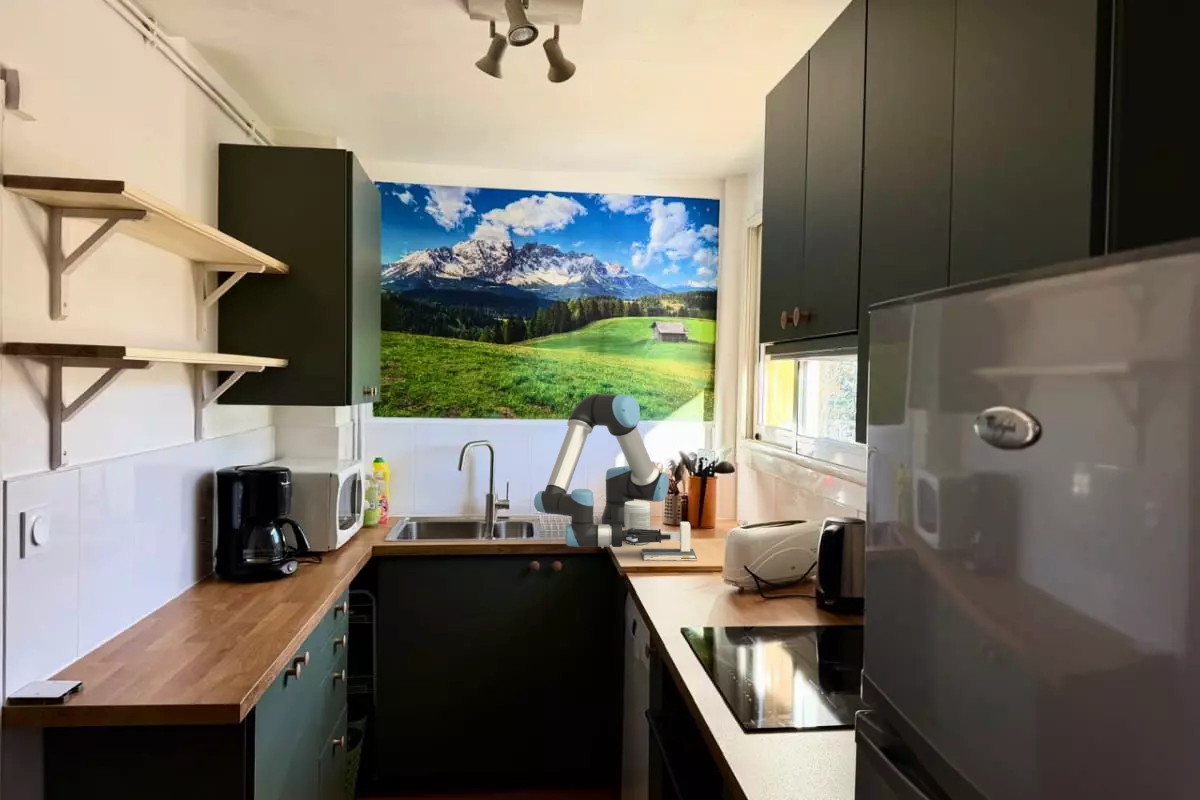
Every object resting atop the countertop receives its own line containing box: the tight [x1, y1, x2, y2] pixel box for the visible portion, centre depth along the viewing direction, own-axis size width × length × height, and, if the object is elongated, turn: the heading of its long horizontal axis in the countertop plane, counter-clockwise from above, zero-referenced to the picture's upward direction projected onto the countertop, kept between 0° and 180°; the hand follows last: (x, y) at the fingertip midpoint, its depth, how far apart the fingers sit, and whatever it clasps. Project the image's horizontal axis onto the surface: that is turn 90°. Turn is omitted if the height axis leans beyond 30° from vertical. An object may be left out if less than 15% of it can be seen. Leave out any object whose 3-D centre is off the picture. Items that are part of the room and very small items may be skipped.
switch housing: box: [641, 547, 698, 560], centre depth 249 cm, size 12×18×2 cm, turn 89°
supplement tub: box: [624, 500, 651, 546], centre depth 268 cm, size 10×10×15 cm
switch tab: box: [679, 521, 691, 552], centre depth 249 cm, size 5×3×10 cm, turn 179°
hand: (680, 536), depth 249 cm, fingers closed
